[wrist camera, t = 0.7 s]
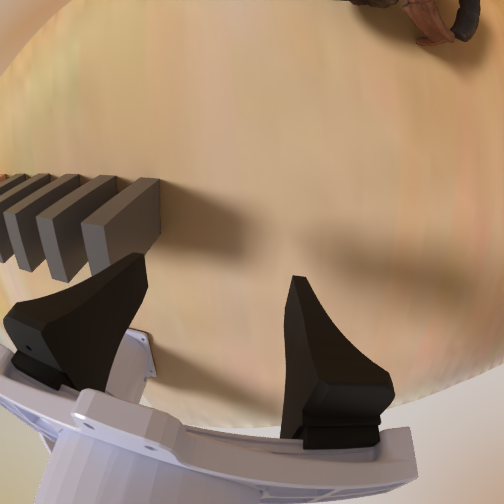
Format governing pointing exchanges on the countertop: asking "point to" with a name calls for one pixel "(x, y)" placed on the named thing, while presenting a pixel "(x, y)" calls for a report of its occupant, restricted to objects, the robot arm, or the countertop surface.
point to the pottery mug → (435, 19)
